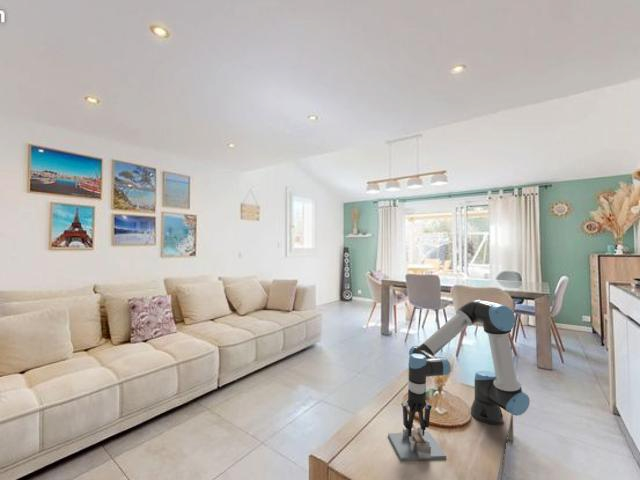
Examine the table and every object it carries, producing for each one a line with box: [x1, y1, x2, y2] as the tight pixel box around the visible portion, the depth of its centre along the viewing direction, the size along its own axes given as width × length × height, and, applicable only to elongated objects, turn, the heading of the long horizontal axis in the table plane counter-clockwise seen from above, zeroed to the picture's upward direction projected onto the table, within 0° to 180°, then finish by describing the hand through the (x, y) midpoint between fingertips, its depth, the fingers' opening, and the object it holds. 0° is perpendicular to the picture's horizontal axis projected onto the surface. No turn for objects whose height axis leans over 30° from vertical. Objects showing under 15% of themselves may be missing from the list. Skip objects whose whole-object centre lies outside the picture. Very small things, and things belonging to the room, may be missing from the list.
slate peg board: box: [387, 427, 447, 462], centre depth 131 cm, size 20×16×5 cm
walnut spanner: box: [406, 424, 431, 458], centre depth 130 cm, size 16×5×4 cm, turn 6°
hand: (415, 442), depth 131 cm, fingers closed on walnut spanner, 3 cm apart
